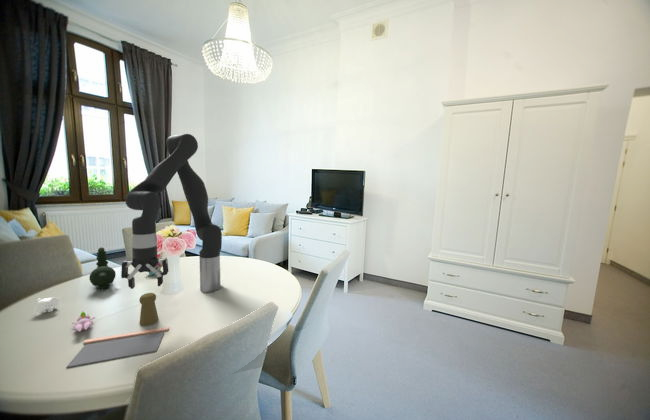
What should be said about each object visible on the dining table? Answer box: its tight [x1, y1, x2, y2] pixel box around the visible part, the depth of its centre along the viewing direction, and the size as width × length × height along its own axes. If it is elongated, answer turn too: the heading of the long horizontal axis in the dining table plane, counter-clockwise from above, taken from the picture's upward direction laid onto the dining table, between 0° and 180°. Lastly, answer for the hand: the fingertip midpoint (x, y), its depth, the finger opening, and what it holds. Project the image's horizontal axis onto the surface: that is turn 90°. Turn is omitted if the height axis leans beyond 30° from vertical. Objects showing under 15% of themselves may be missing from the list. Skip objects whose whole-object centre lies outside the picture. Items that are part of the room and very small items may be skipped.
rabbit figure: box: [71, 311, 96, 332], centre depth 89 cm, size 6×6×15 cm
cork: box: [138, 292, 159, 327], centre depth 94 cm, size 6×6×11 cm
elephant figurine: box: [34, 296, 60, 314], centre depth 99 cm, size 7×8×6 cm
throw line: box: [82, 326, 170, 345], centre depth 86 cm, size 24×2×1 cm, turn 111°
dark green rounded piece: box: [88, 247, 116, 291], centre depth 123 cm, size 9×19×25 cm
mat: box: [66, 331, 165, 369], centre depth 80 cm, size 22×10×1 cm, turn 111°
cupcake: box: [148, 263, 163, 276], centre depth 140 cm, size 9×8×12 cm
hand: (146, 286), depth 93 cm, fingers open, 8 cm apart
